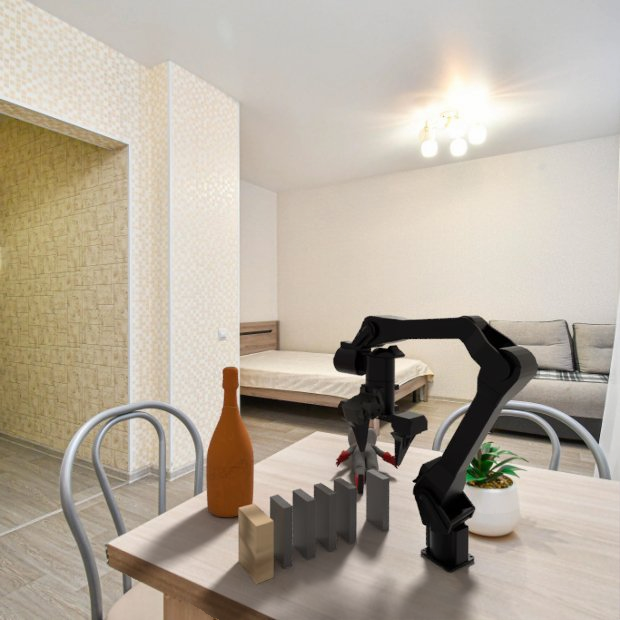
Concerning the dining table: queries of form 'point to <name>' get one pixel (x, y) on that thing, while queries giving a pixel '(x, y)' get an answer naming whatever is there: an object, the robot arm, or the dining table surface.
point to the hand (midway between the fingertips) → (379, 458)
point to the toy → (364, 457)
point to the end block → (256, 542)
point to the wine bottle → (229, 456)
